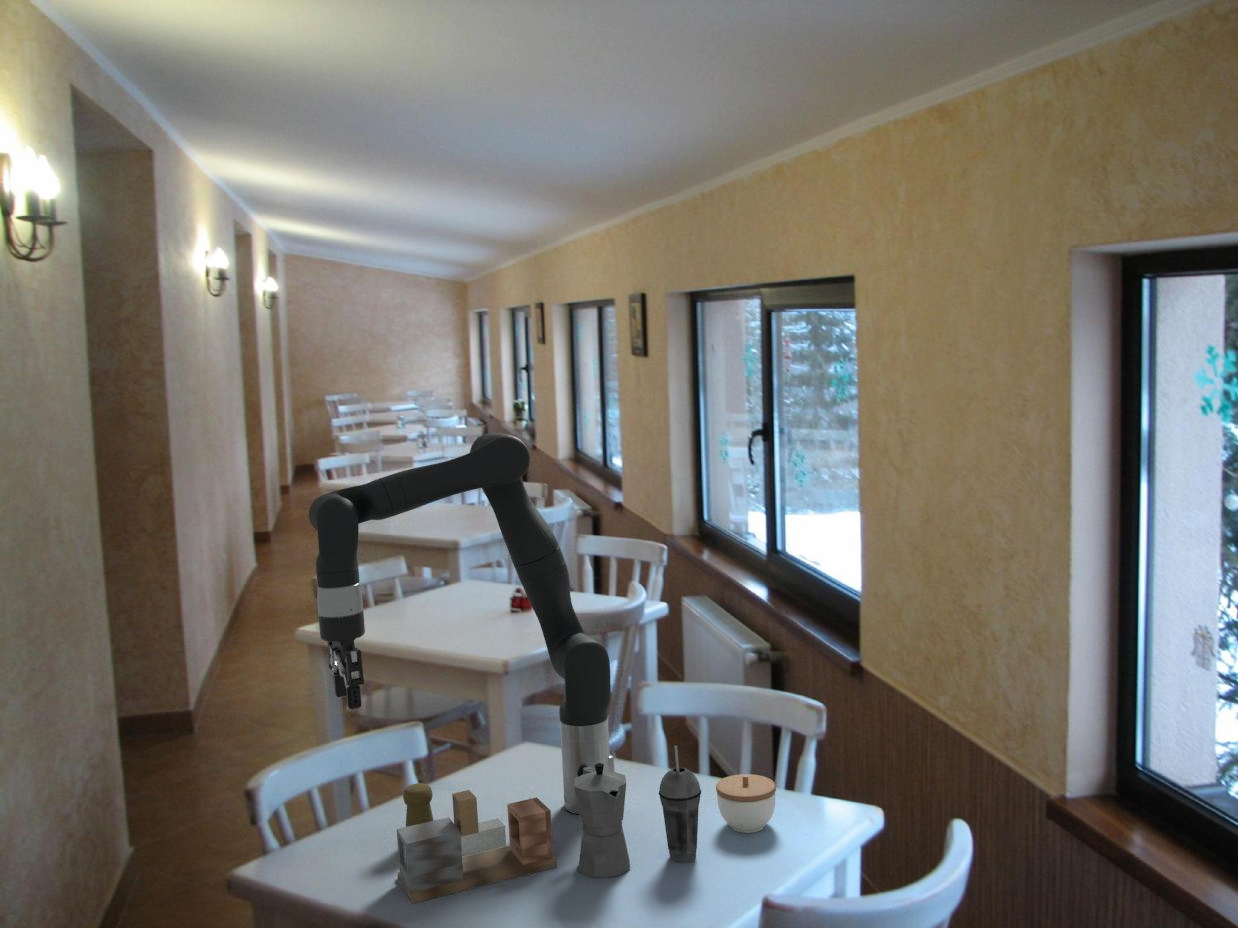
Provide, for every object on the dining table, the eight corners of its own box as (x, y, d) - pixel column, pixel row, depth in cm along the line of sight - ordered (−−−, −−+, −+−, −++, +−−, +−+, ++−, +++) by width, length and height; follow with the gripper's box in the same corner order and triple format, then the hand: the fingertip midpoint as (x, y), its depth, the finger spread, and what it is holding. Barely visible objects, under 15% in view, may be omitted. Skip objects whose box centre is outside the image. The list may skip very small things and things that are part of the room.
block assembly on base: (536, 844, 198) (533, 793, 197) (557, 866, 189) (554, 813, 188) (397, 878, 187) (394, 825, 186) (413, 903, 178) (409, 847, 177)
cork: (430, 852, 197) (426, 792, 196) (399, 851, 198) (394, 791, 197) (443, 837, 202) (439, 779, 201) (411, 836, 204) (407, 778, 203)
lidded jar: (750, 808, 208) (748, 760, 208) (789, 827, 200) (787, 776, 199) (705, 824, 203) (703, 774, 202) (744, 844, 194) (742, 792, 193)
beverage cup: (708, 849, 192) (703, 737, 190) (698, 868, 185) (692, 752, 183) (668, 845, 194) (663, 735, 193) (656, 864, 188) (650, 749, 186)
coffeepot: (646, 875, 184) (641, 770, 182) (594, 888, 180) (588, 781, 178) (608, 840, 198) (603, 742, 196) (559, 852, 194) (553, 752, 192)
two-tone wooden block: (498, 837, 191) (495, 784, 190) (506, 846, 188) (503, 791, 187) (403, 860, 184) (399, 804, 183) (409, 870, 181) (405, 813, 180)
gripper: (373, 613, 186) (381, 707, 187) (351, 599, 198) (358, 687, 200) (328, 621, 182) (336, 716, 184) (309, 606, 195) (317, 695, 197)
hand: (348, 701), depth 192 cm, fingers open, 8 cm apart
